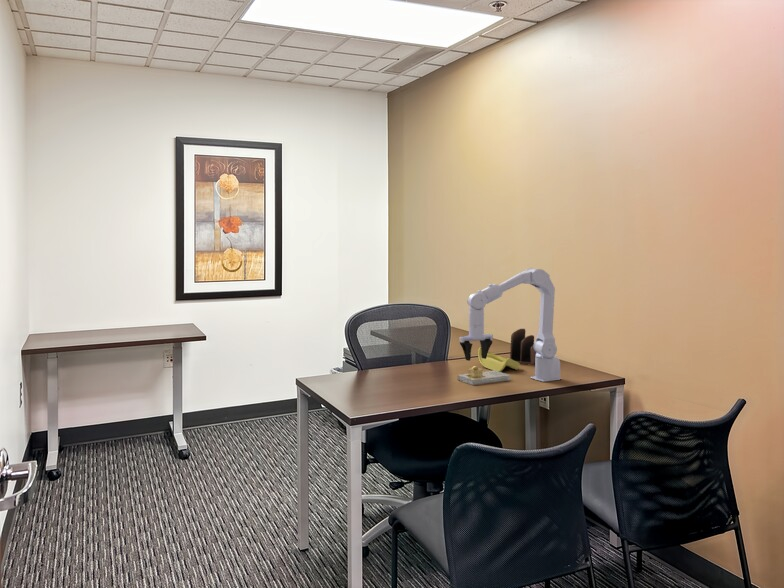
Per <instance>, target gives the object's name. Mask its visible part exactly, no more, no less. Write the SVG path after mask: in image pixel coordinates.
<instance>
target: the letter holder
mask: <svg viewBox="0 0 784 588" xmlns="http://www.w3.org/2000/svg"><path fill="white" fill-rule="evenodd" d="M534 343H535V336H534V335H532V334H530V335H527V336H526V328H519V329H516V330H515V331H513V333H511V336H510V348H509V349H510V353H509V358H510V359H512V360H514V361H516V362H518V363H520V365H528V364H532V365H534V364H535V357H536V356H535V355H536V352H535V350H534V347H533V346H534Z"/></svg>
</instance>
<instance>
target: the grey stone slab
mask: <svg viewBox="0 0 784 588" xmlns="http://www.w3.org/2000/svg"><path fill="white" fill-rule="evenodd" d="M457 380H458V381H459V380H460V382H463V383H465V384H469V385H471V386H475V385H484V384H485V385H486V384H493V383H501V382H506V381H507V382H508V381H511V375H510V374H508V373H505V372H503V371H501V372H498V371H495V370H494V371H493V370H488V371H486V370H485V371H483V377H481V378H471V377H468V373H463V374H457Z"/></svg>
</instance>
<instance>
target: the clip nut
mask: <svg viewBox="0 0 784 588" xmlns="http://www.w3.org/2000/svg"><path fill="white" fill-rule="evenodd" d="M483 372H484V370H483V368H479V366H478V365H477V366H476V365H475V366H472V367H469V368H468V371H467V374H468V377H471V378H481V377H483Z"/></svg>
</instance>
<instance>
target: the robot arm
mask: <svg viewBox="0 0 784 588" xmlns="http://www.w3.org/2000/svg"><path fill="white" fill-rule="evenodd" d="M521 284H528V285H531V286H533V287H535V289H536V290H537V291H539V292H540V300H539V304H540V305H539V319H538V333H536V336H535V340H534V346H533V347H534V350H535V352H536V355H535V356H536V357H535V363H534V364H535V366H534V375H533V376H530V377H529V378H530V379H532V380H536V381H539V382H543V383H545V382H552V381H553V382H554V381H559V380H560V379H561V380H562V377H561V361H560V358H559V357H557V356H556V354H557V351H558V348H557V345H556V338H555V335H554V333H553V330H554V314H555V313H554V310H555V309H554V307H555V292H556V289H555V286H554V283H553V282H552V279H551V278H550V274H549V273H548V272H547V271H546V270H544V269H542V268H533V267H530V268H527V269H526V270H523V271H520V272H519V273H517V274H515V275H513V276H512V277H510V278H508V279H507V280H504V281H502V282H501V283H500V284H497V283H493V284H492V283H489V284H488V285H487V287H485V288H482V290H480V289H478V290H477V293H476V292H475V293H471V294H470V295H469V297H468V298H467V301H466V302H467V304H468V306H469V309H468V310H469V311H468V335H464V336H459V339H458V340H459V345H460V346H461V348H462V351H463V354H464V359H465V360H466V361H471V358H472V357H471V356H472V355H471V354H472V348H473V343H471V342H475V341H476V342H478V341H479V343H480V348H481V356H482V358H484V359H486V357H487V354H488V352H489V351H490V348H491V346H492V344H493V340H494V337H493V336H494V334H490V333H489V334H485V333H484V331H485V329H484V328H485V313H484V312H485V311H484V310H485V309H484V308H485V307H486V305H488V304H490V303H492V302H493V301H496V300H498V299H500V298H501V297H502V296H503V294H504V292H506V291H508V290H510V289H513V288H514V287H517V286H518V285H519V286H520V285H521Z"/></svg>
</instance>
